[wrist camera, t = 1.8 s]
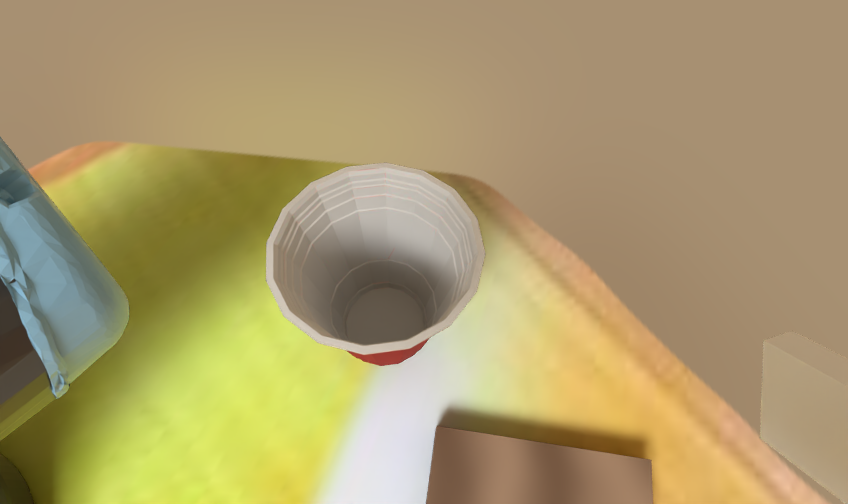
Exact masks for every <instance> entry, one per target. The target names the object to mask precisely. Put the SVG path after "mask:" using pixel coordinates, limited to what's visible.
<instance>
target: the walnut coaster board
mask: <svg viewBox="0 0 848 504" xmlns="http://www.w3.org/2000/svg"><path fill="white" fill-rule="evenodd" d="M426 504H653V490H652V464H651V460H648V459H642V458H636V457H629V456H623V455H617V454H611V453H604V452H598V451H592V450H586V449H579V448H573V447H567V446H560V445H554V444H548V443H542V442H535V441H529V440H523V439H516V438H510V437H504V436H498V435H491V434H485V433H479V432H472V431H466V430H460V429H454V428H447V427H441V426H437V427H436V431H435V439H434V447H433V454H432V462H431V469H430V477H429V484H428V492H427V499H426Z"/></svg>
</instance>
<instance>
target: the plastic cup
mask: <svg viewBox="0 0 848 504" xmlns="http://www.w3.org/2000/svg"><path fill="white" fill-rule="evenodd" d="M484 258H485V250H484V245H483V241H482V237H481V232H480V228H479V223H478V219H477V217H476V216H475V215H474V213H473V212H472V211H471V209H470V208H469V207H468V205H467V204H466V203H465V202H464V200H463V199H462V198H461V196H460V195H459V194H458V192H457V191H456V190H455V189H454V188H452V187H450V186H449V185H447V184H445V183H444V182H442V181H440V180H439V179H437V178H435V177H434V176H432V175H430V174H429V173H427V172H425V171H424V170H419V169H415V168H410V167H405V166H400V165H395V164H390V163H377V164H367V165H358V166H349V167H345V168H343V169H340V170H338V171H336V172H334V173H331V174H329V175H327V176H325V177H322V178H320V179H318V180H315V181H313V182H311V183H310V184H309V185H308V186H307V187H306V188H304V189H303V190H302V191H301V192H300V193H299V194H298V195H297V196H296V197H295V198H294V199H293V200H292V201H290V202H289V203H288V204H287V205H286V206H285V207H284V208H283V209H282V211H281V213H280V215H279V217H278V220H277V222H276V224H275V226H274V228H273V230H272V232H271V234H270V236H269V238H268V240H267V243H266V282H267V284H268V286H269V288H270V290H271V292H272V294H273V296H274V298H275V300H276V302H277V304H278V306H279V308H280V310H281V312H282V314H283V316H284V317H285V318H287V319H288V320H289V321H290V322H292V323H293V324H294V325H296V326H297V327H298V328H299V329H301V330H302V331H303V332H305V333H306V334H307V335H308V336H310V337H311V338H312V339H314V340H315V341H316V342H317V343H320V344H324V345H327V346H331V347H335V348H339V349H343V350H346V351H348V352H349V353H350V354H352V355H353V356H354V357H356V358H359V359H361V360H362V361H364V362H368V363H372V364H376V365H379V366H384V365H391V364H399V363H401V362H402V361H404V360H406V359H408V358H409V357H411V356H413V355H415V353H416V352H417V351H419V350H420V349H421V348H422V347H423V346H424V344H425V343H426V342H427V340H428V339H429V338H430V337H432V336H433V335H435V334H437V333H439V332H440V331H442V330H444V329H446V328H448V327H449V326H450V325H451V324H452V323H453V321H454V320H455V319H456V318H457V316H458V315H459V314H460V312H461V311H462V310H463V309H464V307H465V306H466V305H467V303H468V302H469V301H470V300H471V298H472V297H473V296H474V294H475V293H476V292H477V289H478V284H479V280H480V275H481V271H482V267H483V262H484Z"/></svg>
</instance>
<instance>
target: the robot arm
mask: <svg viewBox="0 0 848 504" xmlns="http://www.w3.org/2000/svg"><path fill="white" fill-rule="evenodd" d="M129 309H130V308H129V303H128V299H127V297H126V294H125V293H124V291H123V290H122V288H121V287H120V286H119V284H118V283H117V282H116V280H115V279H114V278H113V276H112V275H111V274H110V273H109V271H108V270H107V269H106V268H105V266H104V265H103V264H102V262H101V261H100V260H99V259H98V257H97V256H96V255H95V254H94V252H93V251H92V250H91V249H90V247H89V246H88V245H87V244H86V242H85V241H84V240H83V239H82V237H81V236H80V235H79V234H78V232H77V231H76V230H75V229H74V227H73V226H72V225H71V224H70V222H69V221H68V220H67V219H66V217H65V216H64V215H63V214H62V212H61V211H60V210H59V209H58V207H57V206H56V205H55V204H54V202H53V201H52V200H51V199H50V198H49V196H48V195H47V194H46V193H45V191H44V190H43V189H42V188H41V187H40V185H39V184H38V183H37V182H36V180H35V179H34V178H33V177H32V175H31V174H30V173H29V172H28V170H27V169H26V168H25V167H24V165H23V164H22V163H21V162H20V160H19V159H18V158H17V157H16V156H15V154H14V153H13V152H12V150H11V149H10V148H9V147H8V146H7V144H6V143H5V142H4V141H3V139H2V138H1V137H0V441H1V440H3V439H4V438H5V437H7V436H8V435H9V434H10V433H12V432H13V431H14V430H16V429H17V428H18V427H20V426H21V425H22V424H23V423H25V422H26V421H27V420H29V419H30V418H31V417H33V416H34V415H35V414H36V413H38V412H39V411H40V410H42V409H43V408H44V407H46V406H47V405H48V404H49V403H51V402H52V401H53V400H55V399H58V398H60V397H61V396H62V395H64V394H65V393H66V392H67V391H68V389H69V386H70V383H72V382H73V381H74V380H75V379H76V378H77V377H78V376H80V375H81V374H82V373H83V372H84V371H85V370H86V369H87V368H89V367H90V366H91V365H92V364H93V363H94V362H95V361H97V360H98V359H99V358H100V357H101V356H102V355H103V354H104V353H106V352H107V351H108V350H109V349H110V348H111V347H112V346H114V345H115V344H116V343H117V342H118V340H119V339H120V338H121V336H122V335H123V333H124V329H125V328H126V326H127V324H128V320H129ZM762 368H763V369H762V395H761V423H760V425H761V426H760V439H762V440H763V441H764V442H766V443H767V444H768V445H770V446H771V447H772V448H773V449H775V450H776V451H777V452H779V453H780V454H781V455H783V456H784V457H785V458H786V459H788V460H789V461H790V462H792V463H793V464H794V465H795V466H797V467H798V468H799V469H801V470H802V471H803V472H805V473H806V474H807V475H808V476H810V477H811V478H812V479H814V480H815V481H816V482H817V483H819V484H820V485H821V486H823V487H824V488H825V489H827V490H828V491H829V492H830V493H832V494H833V495H834V496H836V497H837V498H838V499H839V500H841V501H842V502H843V503H845V504H848V358H846V357H844V356H842V355H840V354H838V353H836V352H834V351H832V350H830V349H828V348H826V347H824V346H822V345H820V344H818V343H816V342H814V341H812V340H810V339H808V338H806V337H804V336H802V335H800V334H798V333H796V332H794V331H790V332H787V333H784V334H781V335H778V336H774V337H771V338H768V339H765V340H763V367H762ZM0 504H34V502H33V499H32V496H31V493H30V490H29V488H28V486H27V484H26V482H25V480H24V479H23V477H22V475H21V474H20V472H19V471H18V470H17V469H16V467H15V466H14V465H13V464H12V463H11V462H10V461H9V460H8V459H7V458H5V457H4V456H3V455H2V454H0Z"/></svg>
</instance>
